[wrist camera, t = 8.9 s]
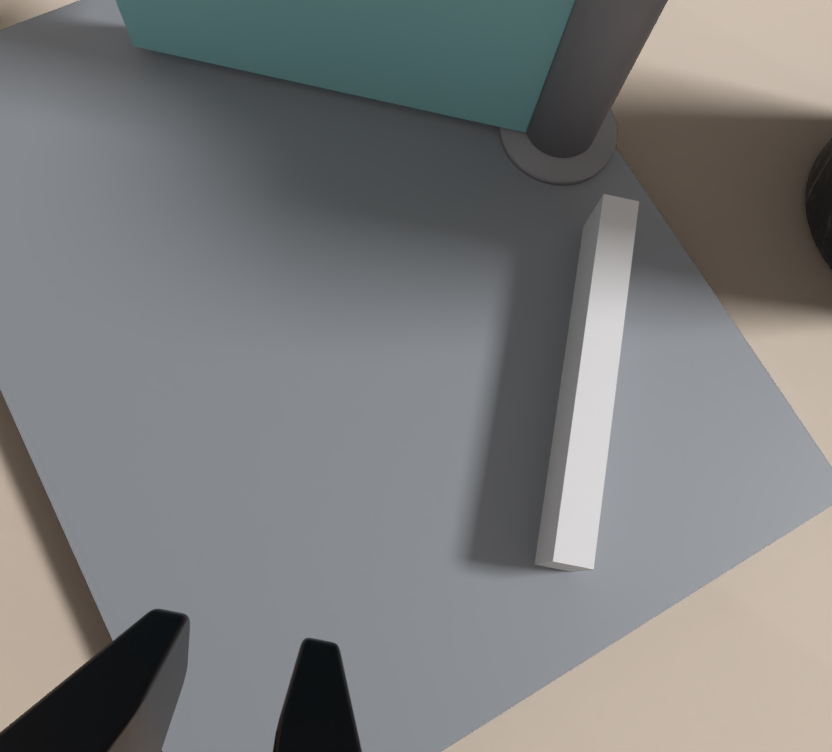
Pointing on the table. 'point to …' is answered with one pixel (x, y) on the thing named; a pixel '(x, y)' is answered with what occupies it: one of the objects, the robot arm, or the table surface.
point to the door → (425, 53)
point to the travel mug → (821, 202)
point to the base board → (363, 385)
